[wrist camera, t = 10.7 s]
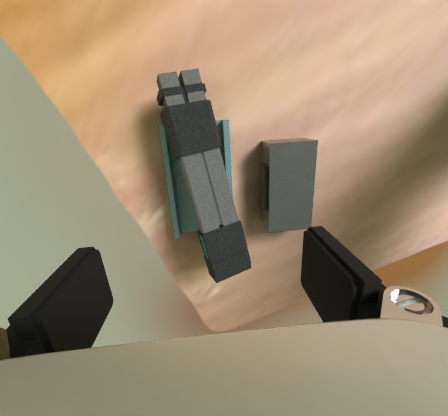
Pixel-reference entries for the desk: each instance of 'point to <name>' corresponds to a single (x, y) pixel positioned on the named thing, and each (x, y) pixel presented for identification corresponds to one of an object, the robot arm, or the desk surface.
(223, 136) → the cradle tray
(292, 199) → the block
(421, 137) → the desk surface
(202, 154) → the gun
